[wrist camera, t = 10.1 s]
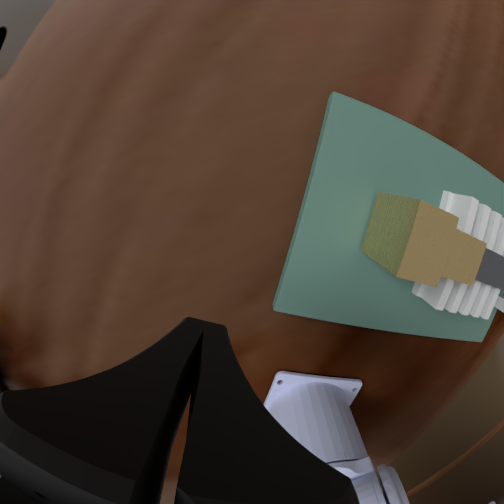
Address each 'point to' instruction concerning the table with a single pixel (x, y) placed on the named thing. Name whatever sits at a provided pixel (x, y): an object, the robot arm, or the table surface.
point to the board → (357, 220)
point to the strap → (491, 269)
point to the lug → (420, 242)
